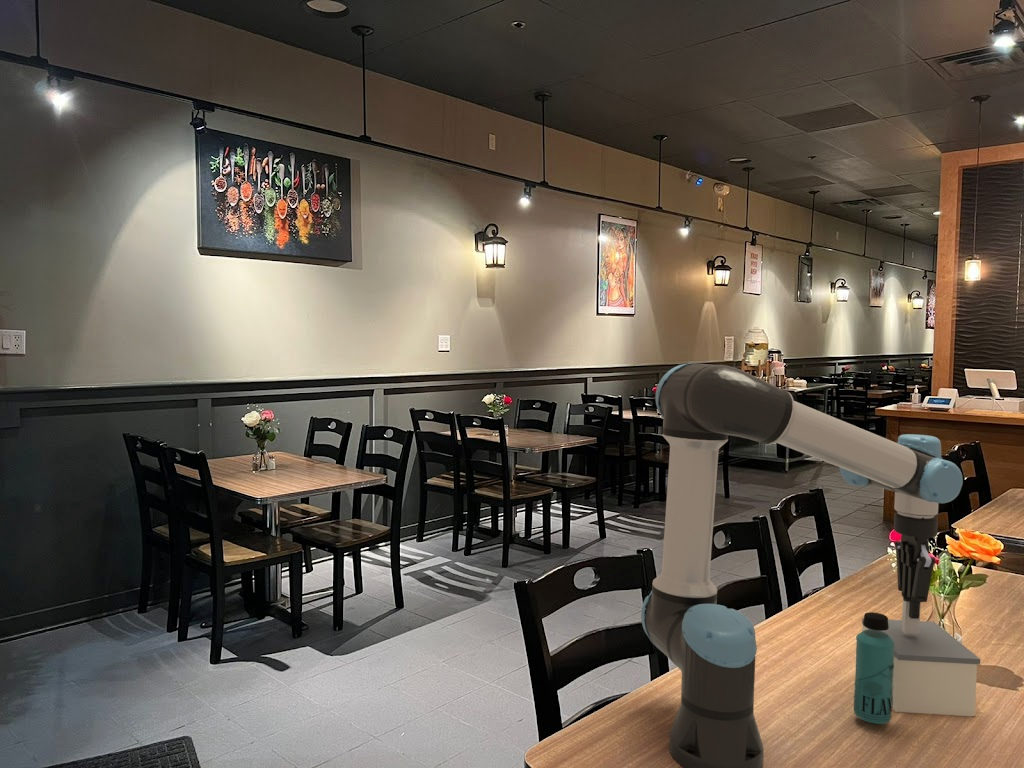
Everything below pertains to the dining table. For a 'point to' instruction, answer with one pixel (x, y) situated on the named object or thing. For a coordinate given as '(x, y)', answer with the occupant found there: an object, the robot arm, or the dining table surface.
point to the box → (934, 687)
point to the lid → (928, 644)
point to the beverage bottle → (874, 671)
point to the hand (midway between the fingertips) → (910, 632)
